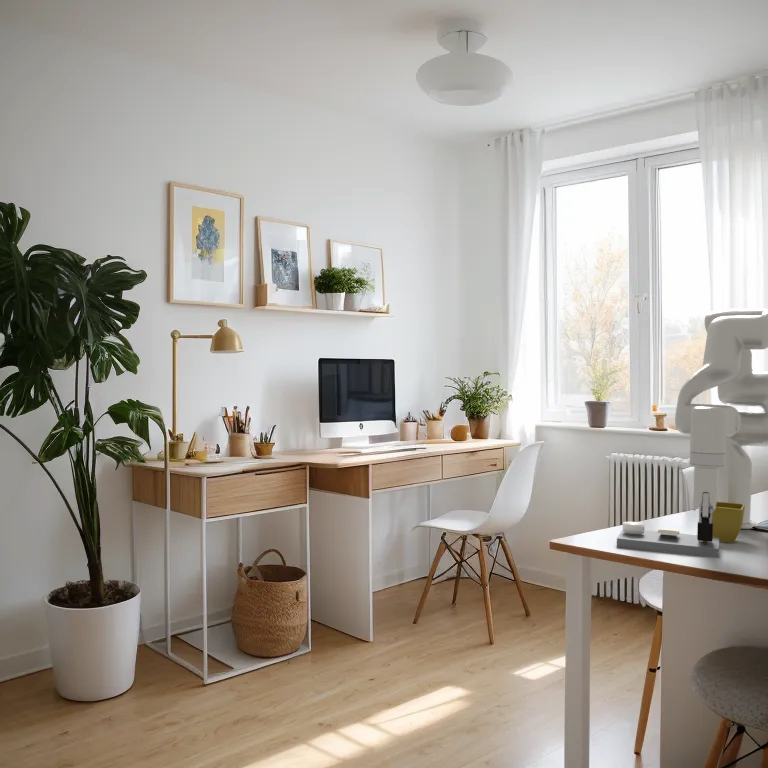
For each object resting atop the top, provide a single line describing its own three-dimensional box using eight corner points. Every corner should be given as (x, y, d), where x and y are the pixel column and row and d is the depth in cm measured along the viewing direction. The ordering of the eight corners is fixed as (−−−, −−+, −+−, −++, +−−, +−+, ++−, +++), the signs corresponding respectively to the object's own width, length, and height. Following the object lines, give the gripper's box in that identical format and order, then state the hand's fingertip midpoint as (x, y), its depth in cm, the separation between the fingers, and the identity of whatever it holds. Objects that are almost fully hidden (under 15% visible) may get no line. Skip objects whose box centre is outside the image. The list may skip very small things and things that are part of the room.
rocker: (659, 531, 187) (659, 528, 187) (679, 533, 185) (679, 530, 185) (657, 533, 181) (658, 529, 181) (677, 535, 179) (678, 531, 180)
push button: (623, 529, 190) (624, 520, 190) (645, 531, 188) (645, 522, 188) (621, 532, 185) (621, 524, 185) (643, 534, 183) (643, 526, 183)
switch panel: (623, 535, 194) (623, 525, 194) (718, 545, 185) (719, 534, 185) (616, 546, 181) (616, 535, 181) (718, 557, 172) (719, 546, 172)
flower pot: (741, 546, 185) (742, 508, 185) (702, 541, 189) (703, 505, 189) (744, 539, 193) (745, 504, 193) (706, 535, 197) (707, 500, 197)
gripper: (690, 456, 184) (688, 533, 185) (688, 462, 171) (685, 545, 171) (724, 458, 181) (722, 536, 182) (725, 464, 168) (722, 548, 168)
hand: (704, 540), depth 176 cm, fingers closed
